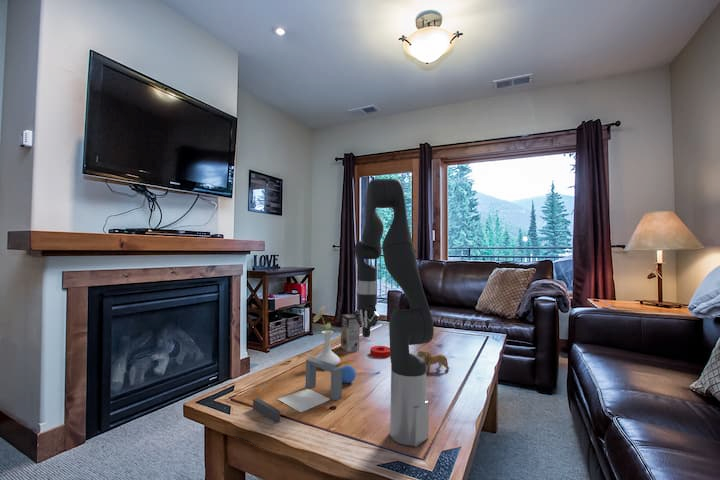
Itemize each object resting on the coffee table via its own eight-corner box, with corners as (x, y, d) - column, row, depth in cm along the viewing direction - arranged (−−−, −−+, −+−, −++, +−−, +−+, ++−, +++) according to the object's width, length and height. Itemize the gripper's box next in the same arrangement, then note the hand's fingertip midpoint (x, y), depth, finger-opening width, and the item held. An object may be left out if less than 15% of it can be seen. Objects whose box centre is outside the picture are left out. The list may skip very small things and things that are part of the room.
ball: (359, 382, 124) (359, 365, 124) (347, 387, 120) (348, 370, 120) (347, 377, 128) (347, 362, 128) (335, 382, 124) (336, 365, 124)
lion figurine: (420, 375, 132) (420, 352, 133) (414, 370, 137) (414, 348, 138) (452, 371, 137) (453, 349, 137) (445, 367, 142) (446, 345, 142)
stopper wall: (279, 421, 95) (280, 410, 95) (275, 423, 94) (275, 412, 94) (257, 407, 103) (257, 397, 103) (252, 408, 102) (253, 398, 102)
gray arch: (312, 384, 121) (312, 357, 121) (341, 397, 111) (342, 368, 111) (305, 387, 119) (306, 359, 119) (334, 400, 109) (335, 370, 109)
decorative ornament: (368, 352, 161) (368, 345, 161) (387, 351, 163) (387, 345, 163) (372, 359, 151) (372, 352, 151) (393, 358, 153) (393, 351, 153)
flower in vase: (326, 358, 150) (327, 302, 150) (345, 364, 142) (347, 305, 143) (304, 366, 140) (305, 305, 140) (323, 373, 132) (325, 309, 133)
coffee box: (340, 347, 168) (340, 314, 168) (352, 345, 170) (352, 313, 171) (347, 352, 159) (348, 318, 160) (359, 350, 162) (360, 317, 162)
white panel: (330, 399, 109) (330, 399, 109) (300, 412, 101) (300, 411, 101) (307, 388, 118) (307, 388, 118) (277, 399, 109) (277, 399, 109)
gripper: (348, 291, 134) (347, 335, 133) (373, 295, 125) (372, 342, 124) (361, 289, 139) (360, 332, 139) (386, 293, 130) (385, 338, 130)
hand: (366, 336), depth 132 cm, fingers closed
